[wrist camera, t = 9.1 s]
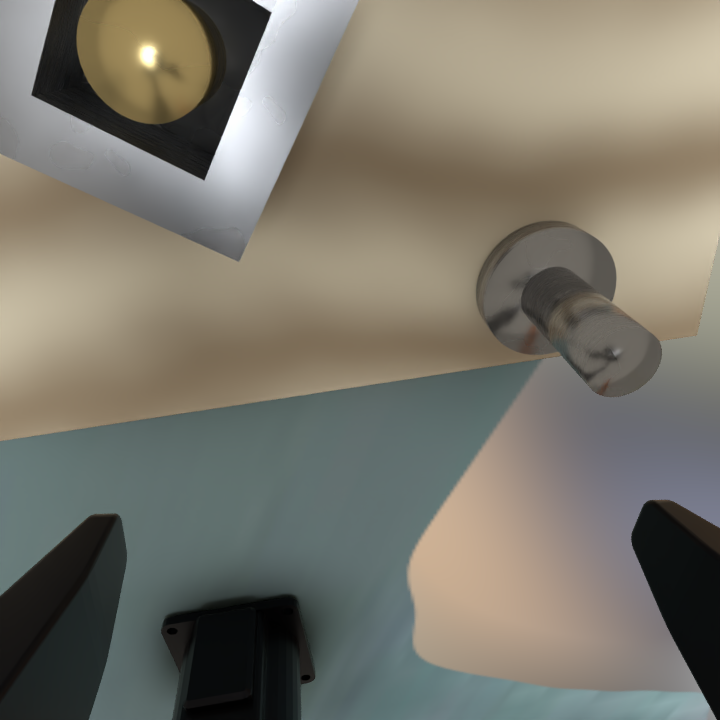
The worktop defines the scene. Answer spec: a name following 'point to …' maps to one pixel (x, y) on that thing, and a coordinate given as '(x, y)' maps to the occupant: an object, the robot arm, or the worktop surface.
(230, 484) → the worktop surface
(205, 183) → the grey square frame
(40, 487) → the worktop surface
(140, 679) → the worktop surface
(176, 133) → the hub
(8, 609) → the robot arm
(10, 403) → the board
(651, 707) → the worktop surface
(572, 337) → the stand
